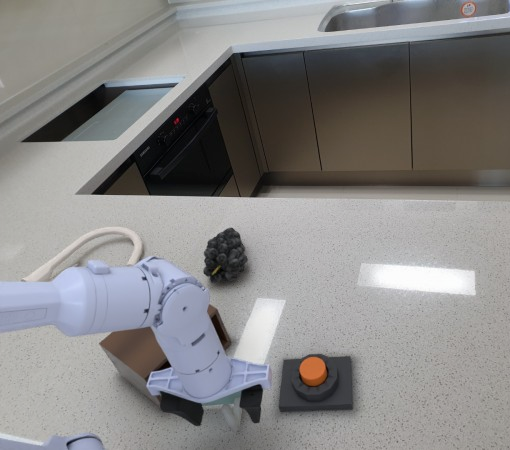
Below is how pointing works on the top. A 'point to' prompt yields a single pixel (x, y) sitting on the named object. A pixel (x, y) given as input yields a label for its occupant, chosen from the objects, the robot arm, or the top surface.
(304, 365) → the light button
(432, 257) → the top surface
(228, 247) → the fruit
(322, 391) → the switch block
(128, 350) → the cabinet
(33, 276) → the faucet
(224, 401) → the glass door
